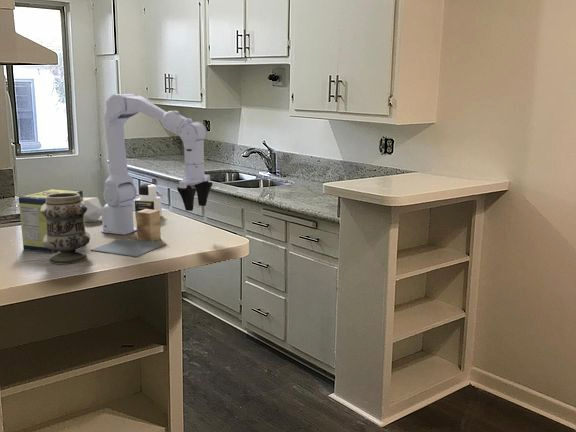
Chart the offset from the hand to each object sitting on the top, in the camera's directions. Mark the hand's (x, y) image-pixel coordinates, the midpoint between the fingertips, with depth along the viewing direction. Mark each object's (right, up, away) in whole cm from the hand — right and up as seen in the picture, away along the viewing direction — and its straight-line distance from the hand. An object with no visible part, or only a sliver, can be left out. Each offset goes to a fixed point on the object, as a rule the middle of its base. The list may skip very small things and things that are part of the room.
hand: (195, 208), depth 180 cm
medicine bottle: (-22, -3, +32) cm, 39 cm away
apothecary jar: (-32, -14, -17) cm, 39 cm away
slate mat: (-19, -12, -6) cm, 23 cm away
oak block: (-15, -10, +3) cm, 18 cm away
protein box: (-41, -11, -3) cm, 43 cm away
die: (-41, -4, +28) cm, 50 cm away
